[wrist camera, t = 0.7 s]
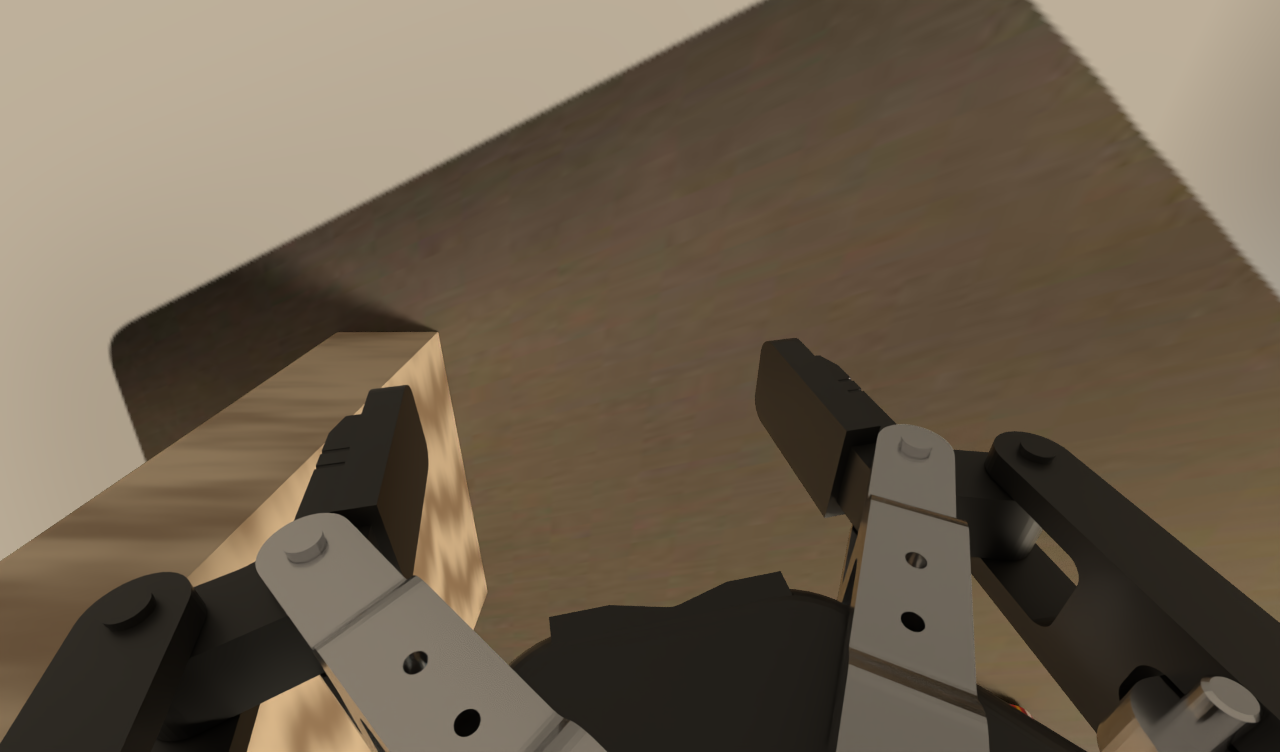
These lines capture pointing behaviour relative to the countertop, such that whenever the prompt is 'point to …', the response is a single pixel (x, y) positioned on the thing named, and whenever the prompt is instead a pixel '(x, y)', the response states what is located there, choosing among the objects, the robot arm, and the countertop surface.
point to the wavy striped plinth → (244, 519)
